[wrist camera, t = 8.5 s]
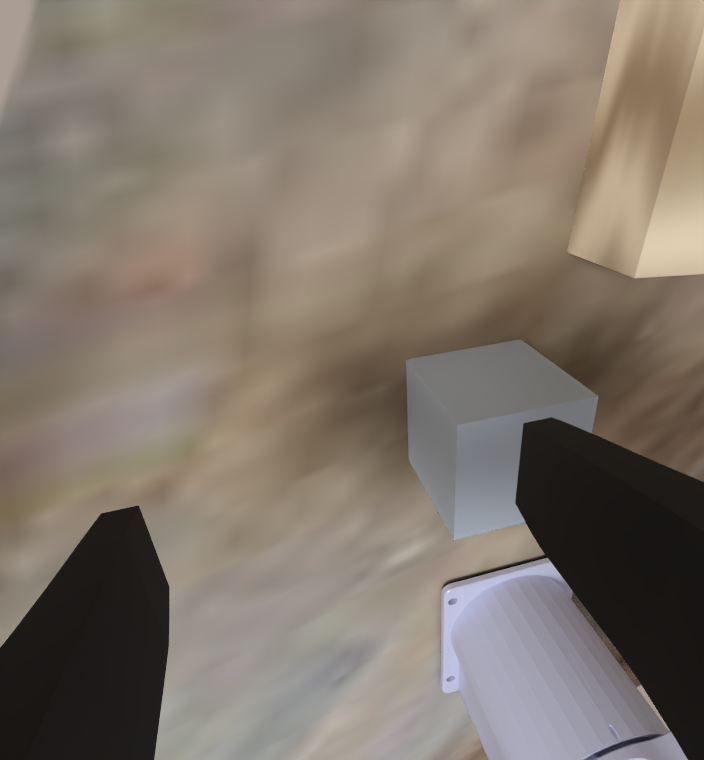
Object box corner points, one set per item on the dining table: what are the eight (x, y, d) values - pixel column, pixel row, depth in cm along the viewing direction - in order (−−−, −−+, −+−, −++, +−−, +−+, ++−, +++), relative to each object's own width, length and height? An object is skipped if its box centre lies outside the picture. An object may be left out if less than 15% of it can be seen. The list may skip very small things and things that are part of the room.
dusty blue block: (510, 437, 23) (577, 509, 19) (407, 458, 22) (453, 540, 18) (519, 338, 21) (598, 396, 17) (405, 358, 20) (457, 425, 16)
